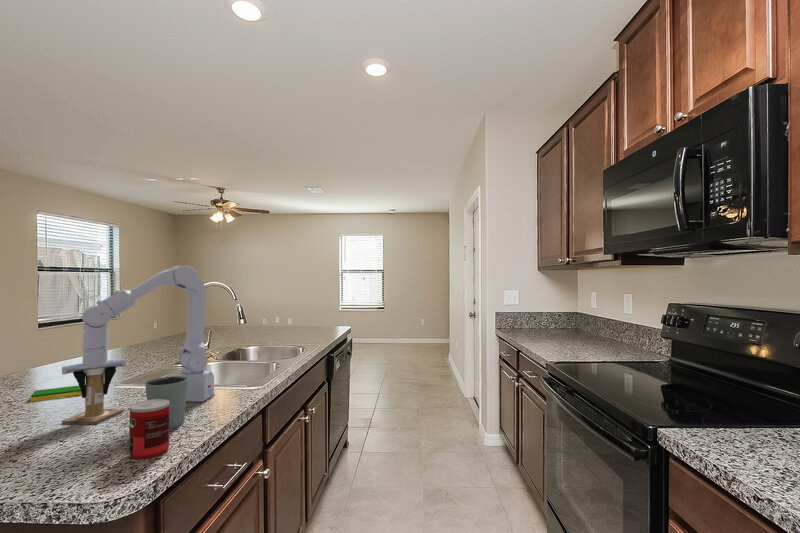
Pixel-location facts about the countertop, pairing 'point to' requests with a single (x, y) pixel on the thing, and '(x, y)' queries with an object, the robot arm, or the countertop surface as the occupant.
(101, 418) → the spice coaster
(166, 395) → the grey-green tapered cup
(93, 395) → the spice jar
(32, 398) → the dish sponge
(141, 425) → the canned food
